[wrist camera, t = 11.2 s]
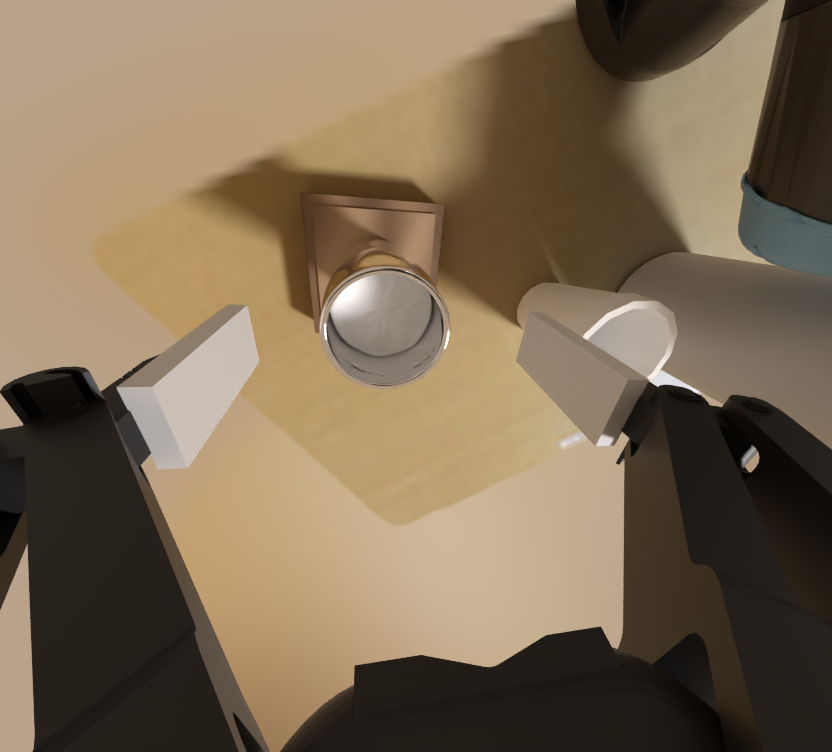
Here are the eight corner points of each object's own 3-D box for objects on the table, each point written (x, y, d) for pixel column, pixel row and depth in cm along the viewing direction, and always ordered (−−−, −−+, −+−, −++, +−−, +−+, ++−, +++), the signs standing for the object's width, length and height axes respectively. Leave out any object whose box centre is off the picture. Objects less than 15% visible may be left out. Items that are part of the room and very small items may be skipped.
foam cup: (503, 277, 33) (575, 315, 22) (582, 259, 34) (691, 287, 23) (505, 352, 38) (565, 413, 27) (574, 335, 39) (660, 389, 27)
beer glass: (346, 315, 29) (335, 403, 16) (327, 238, 26) (294, 274, 13) (416, 304, 30) (457, 380, 17) (406, 227, 26) (450, 250, 13)
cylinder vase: (718, 278, 38) (1185, 377, 16) (645, 360, 43) (931, 519, 21) (658, 230, 33) (1188, 279, 12) (585, 328, 38) (869, 486, 17)
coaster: (437, 204, 29) (445, 204, 26) (426, 323, 34) (432, 334, 32) (306, 193, 27) (299, 192, 24) (318, 322, 32) (314, 333, 30)
